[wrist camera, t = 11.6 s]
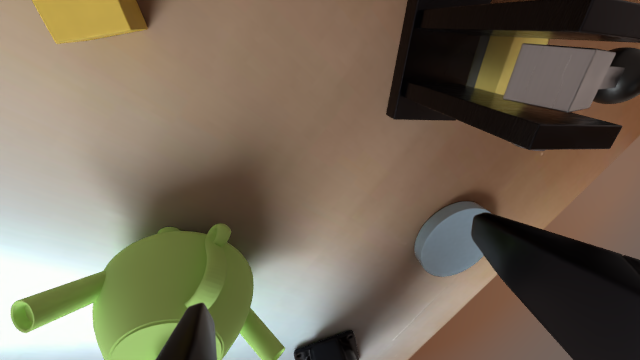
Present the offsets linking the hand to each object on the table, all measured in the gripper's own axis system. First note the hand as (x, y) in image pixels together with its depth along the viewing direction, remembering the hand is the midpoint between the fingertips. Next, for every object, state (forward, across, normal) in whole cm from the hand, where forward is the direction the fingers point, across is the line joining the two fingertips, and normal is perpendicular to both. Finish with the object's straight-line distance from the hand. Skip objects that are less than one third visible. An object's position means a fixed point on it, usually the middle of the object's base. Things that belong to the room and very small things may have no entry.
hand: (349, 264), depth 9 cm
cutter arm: (+7, -15, -2) cm, 16 cm away
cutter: (+12, -11, -3) cm, 16 cm away
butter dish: (+12, -16, -2) cm, 20 cm away
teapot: (+12, +10, +9) cm, 18 cm away
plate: (+12, -13, +14) cm, 23 cm away
